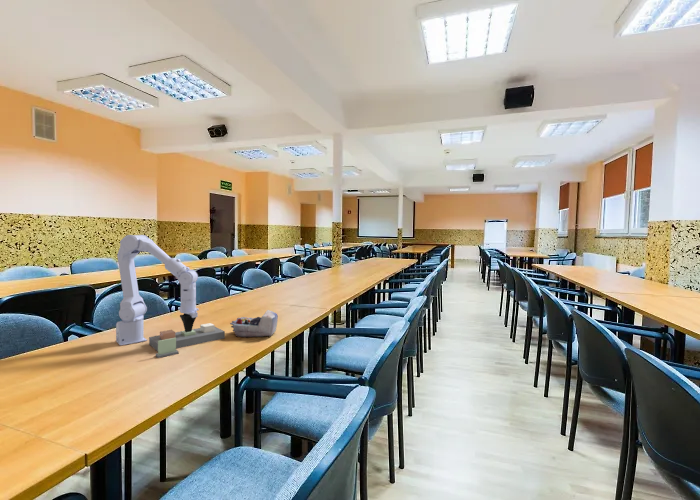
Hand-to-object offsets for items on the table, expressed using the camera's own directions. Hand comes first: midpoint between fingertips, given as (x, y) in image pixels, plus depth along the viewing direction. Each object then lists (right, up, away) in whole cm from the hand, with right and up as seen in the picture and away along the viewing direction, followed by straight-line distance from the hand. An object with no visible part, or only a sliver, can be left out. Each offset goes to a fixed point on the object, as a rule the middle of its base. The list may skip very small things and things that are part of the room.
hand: (188, 331), depth 142 cm
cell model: (+24, -5, +12) cm, 28 cm away
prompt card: (0, -5, -16) cm, 16 cm away
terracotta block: (-6, -3, -6) cm, 8 cm away
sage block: (0, -4, 0) cm, 4 cm away
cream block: (+6, -3, +6) cm, 8 cm away
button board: (0, -4, 0) cm, 4 cm away
